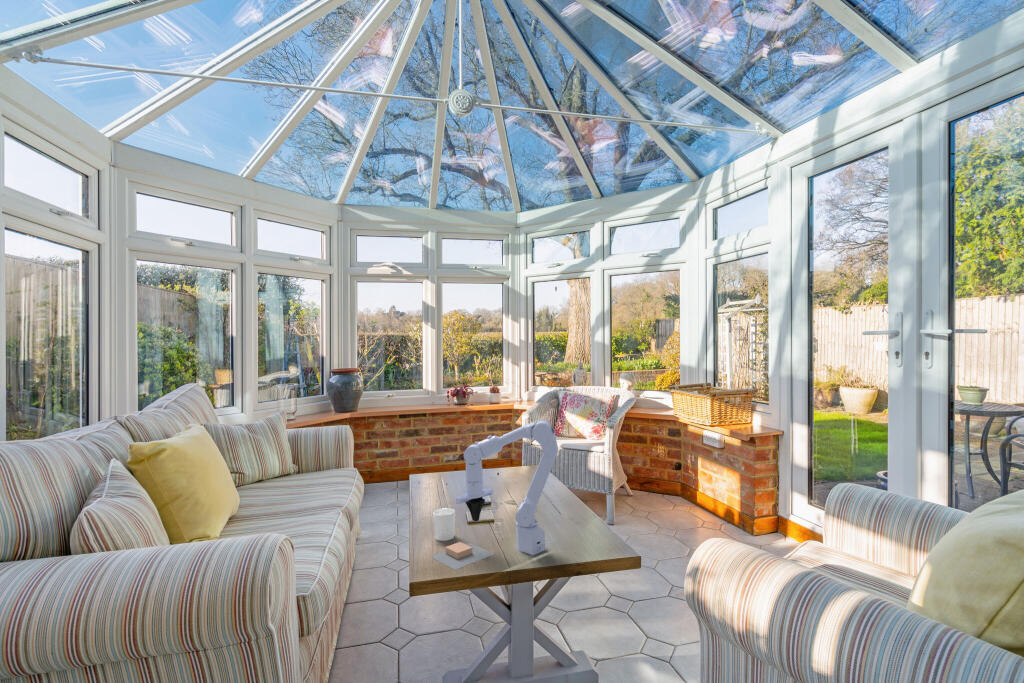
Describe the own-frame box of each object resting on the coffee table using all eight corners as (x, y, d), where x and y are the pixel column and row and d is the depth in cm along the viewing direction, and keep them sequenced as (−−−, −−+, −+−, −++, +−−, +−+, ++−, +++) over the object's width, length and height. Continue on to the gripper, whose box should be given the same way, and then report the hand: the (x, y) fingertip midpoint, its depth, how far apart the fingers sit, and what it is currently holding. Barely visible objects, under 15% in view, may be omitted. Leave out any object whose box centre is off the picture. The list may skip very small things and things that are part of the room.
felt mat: (494, 556, 162) (494, 554, 162) (454, 572, 151) (454, 569, 151) (469, 545, 172) (469, 542, 172) (430, 558, 161) (430, 556, 161)
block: (472, 547, 162) (457, 552, 158) (472, 554, 162) (457, 559, 158) (460, 541, 168) (445, 547, 164) (460, 548, 168) (445, 553, 164)
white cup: (440, 545, 173) (439, 516, 173) (430, 538, 179) (429, 511, 179) (459, 539, 177) (458, 511, 178) (449, 533, 184) (448, 506, 184)
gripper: (483, 474, 176) (484, 512, 176) (450, 482, 167) (451, 523, 166) (496, 477, 171) (497, 517, 171) (462, 486, 161) (463, 528, 161)
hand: (475, 520), depth 168 cm, fingers closed
